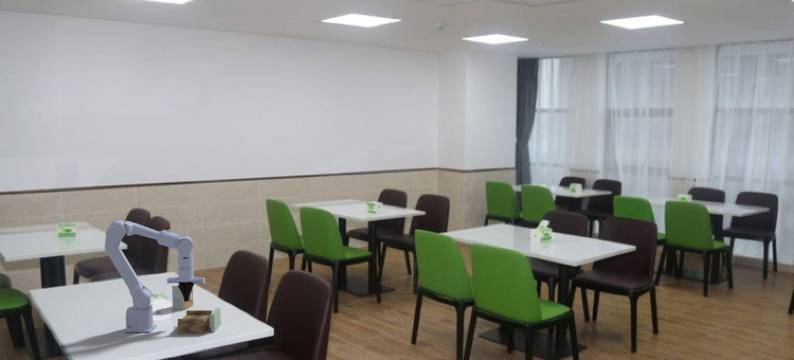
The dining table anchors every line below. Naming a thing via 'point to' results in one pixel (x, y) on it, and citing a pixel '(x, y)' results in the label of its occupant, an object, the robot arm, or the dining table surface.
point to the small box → (180, 299)
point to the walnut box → (195, 321)
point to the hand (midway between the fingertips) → (186, 300)
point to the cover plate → (215, 319)
